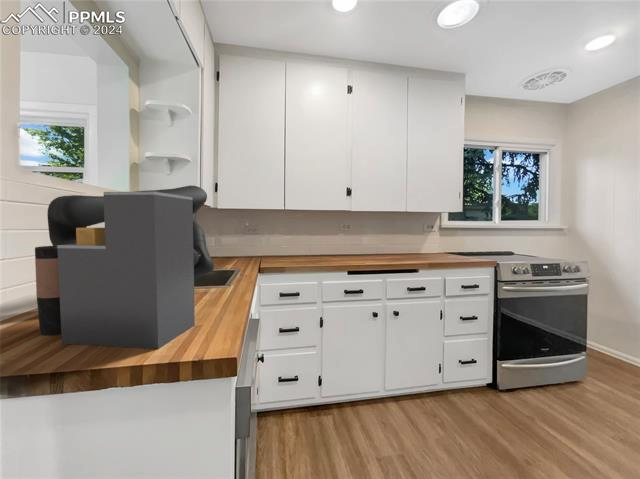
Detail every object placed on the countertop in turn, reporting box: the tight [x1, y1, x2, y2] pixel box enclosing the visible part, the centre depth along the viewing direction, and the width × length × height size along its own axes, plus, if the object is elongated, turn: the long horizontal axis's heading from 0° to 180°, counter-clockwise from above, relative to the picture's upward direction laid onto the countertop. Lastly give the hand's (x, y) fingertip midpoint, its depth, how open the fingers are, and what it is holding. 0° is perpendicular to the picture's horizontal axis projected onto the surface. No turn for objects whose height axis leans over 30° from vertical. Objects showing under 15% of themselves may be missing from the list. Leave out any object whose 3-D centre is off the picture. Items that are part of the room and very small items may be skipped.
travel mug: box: [34, 245, 61, 336], centre depth 70 cm, size 8×8×20 cm
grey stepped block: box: [57, 191, 196, 350], centre depth 67 cm, size 22×14×32 cm, turn 84°
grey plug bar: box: [76, 227, 105, 245], centre depth 72 cm, size 4×22×4 cm, turn 174°
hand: (142, 221), depth 78 cm, fingers open, 8 cm apart
